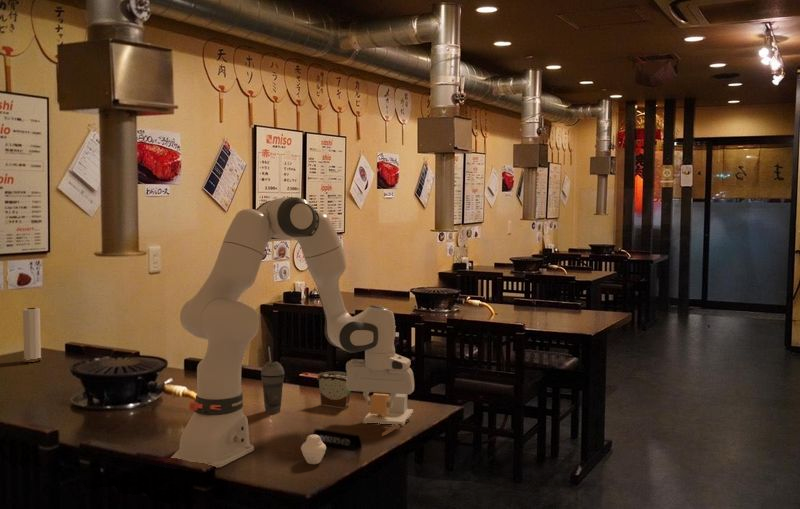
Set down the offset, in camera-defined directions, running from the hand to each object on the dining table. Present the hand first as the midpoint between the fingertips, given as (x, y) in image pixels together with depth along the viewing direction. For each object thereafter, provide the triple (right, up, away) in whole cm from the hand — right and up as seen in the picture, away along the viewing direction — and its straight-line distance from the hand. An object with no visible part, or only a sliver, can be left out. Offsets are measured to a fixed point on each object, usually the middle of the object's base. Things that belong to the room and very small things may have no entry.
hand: (379, 406), depth 222 cm
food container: (-13, -3, +18) cm, 22 cm away
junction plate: (+3, -4, +3) cm, 5 cm away
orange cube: (0, -2, 0) cm, 2 cm away
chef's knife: (+4, -5, -8) cm, 10 cm away
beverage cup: (-33, -3, +9) cm, 34 cm away
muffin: (-15, -7, -36) cm, 40 cm away
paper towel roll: (-140, +2, +78) cm, 160 cm away
